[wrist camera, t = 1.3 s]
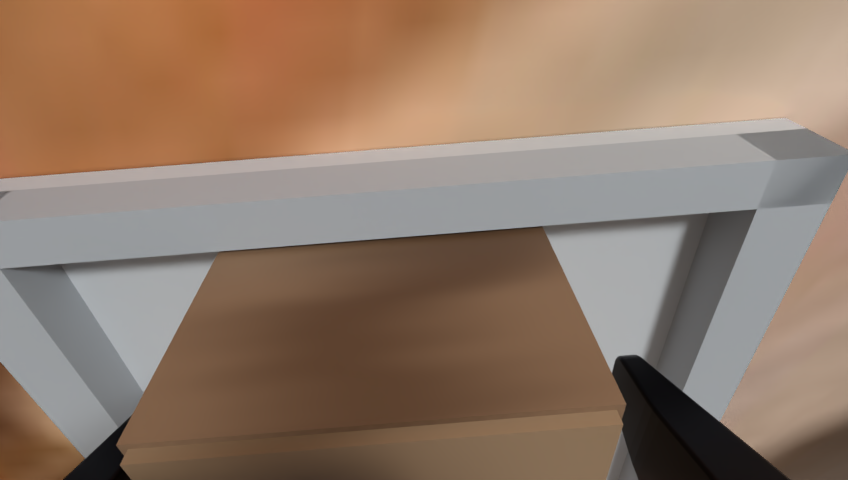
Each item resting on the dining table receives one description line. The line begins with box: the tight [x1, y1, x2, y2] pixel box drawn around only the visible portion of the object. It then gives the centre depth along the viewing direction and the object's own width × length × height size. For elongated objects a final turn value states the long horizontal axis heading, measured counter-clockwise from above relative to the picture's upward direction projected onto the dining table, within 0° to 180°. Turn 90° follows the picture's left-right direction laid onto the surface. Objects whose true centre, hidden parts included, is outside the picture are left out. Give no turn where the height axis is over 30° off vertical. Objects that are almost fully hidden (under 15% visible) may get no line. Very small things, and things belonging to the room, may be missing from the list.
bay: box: [0, 118, 848, 480], centre depth 13 cm, size 17×18×3 cm
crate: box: [116, 226, 626, 480], centre depth 9 cm, size 6×6×5 cm
